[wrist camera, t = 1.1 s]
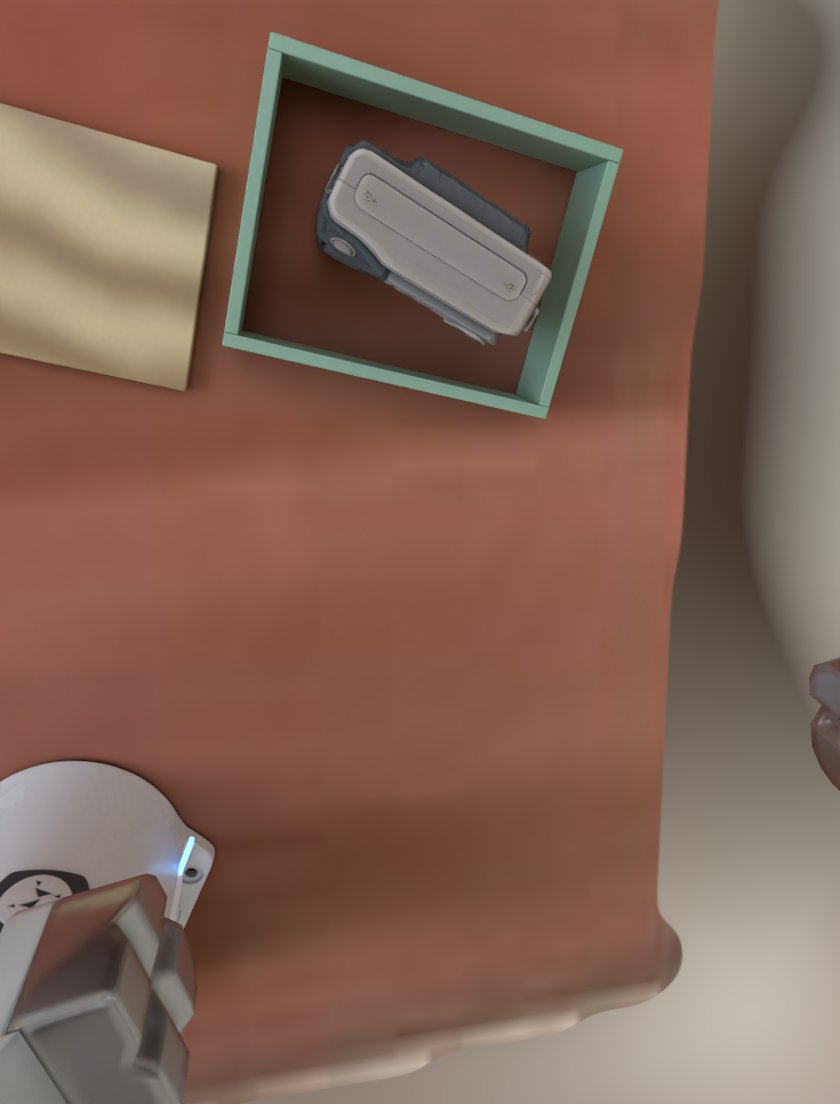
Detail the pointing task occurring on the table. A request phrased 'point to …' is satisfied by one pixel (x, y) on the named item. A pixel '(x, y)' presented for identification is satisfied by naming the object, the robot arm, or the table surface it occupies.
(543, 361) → the bin
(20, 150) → the board
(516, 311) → the camera
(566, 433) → the table surface
